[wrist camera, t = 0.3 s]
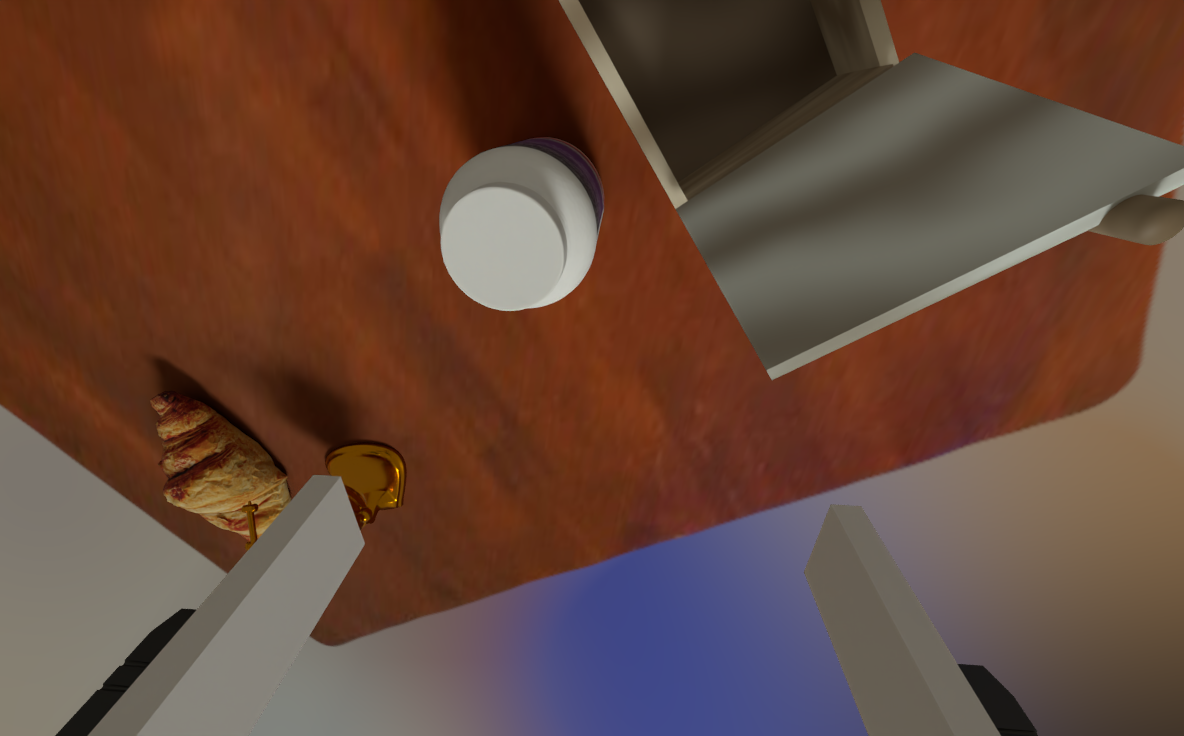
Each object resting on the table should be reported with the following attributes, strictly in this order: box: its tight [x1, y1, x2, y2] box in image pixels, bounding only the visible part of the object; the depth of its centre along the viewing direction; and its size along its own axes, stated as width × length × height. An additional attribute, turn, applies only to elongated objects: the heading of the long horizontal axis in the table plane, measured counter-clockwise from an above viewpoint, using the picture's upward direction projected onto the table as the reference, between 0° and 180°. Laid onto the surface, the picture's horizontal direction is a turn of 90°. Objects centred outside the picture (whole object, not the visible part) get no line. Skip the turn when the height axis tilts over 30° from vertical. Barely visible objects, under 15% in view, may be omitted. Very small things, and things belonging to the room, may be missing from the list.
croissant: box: [150, 391, 291, 541], centre depth 45 cm, size 21×10×8 cm, turn 11°
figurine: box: [241, 443, 406, 551], centre depth 41 cm, size 9×11×12 cm
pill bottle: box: [439, 137, 604, 311], centre depth 26 cm, size 8×8×14 cm
